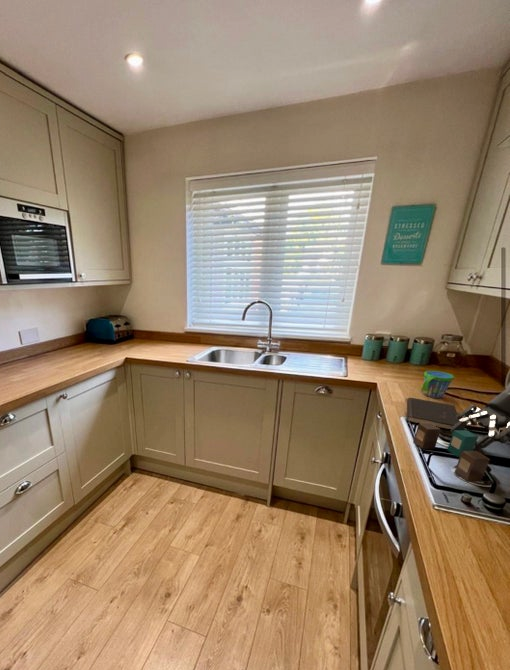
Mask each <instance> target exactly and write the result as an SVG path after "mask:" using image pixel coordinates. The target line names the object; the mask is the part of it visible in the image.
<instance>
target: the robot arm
mask: <svg viewBox="0 0 510 670" xmlns="http://www.w3.org/2000/svg"><path fill="white" fill-rule="evenodd" d="M456 417H457V418H458V420H459V422H458V423H457V424H455V425H454V426H453V427H451V430H449V431H450V432H451V434H452V435H453V432H454V430H465V428H466V427H469V426H479V427H483V428H485V429H486V430H488V435H487V434H486V435H485V436H483V437H482V438H481V439H479V440H477V441H476V444H475V447H476V448H477V449H479V450H482V449H486V448H487V447H488V446H490V445H491V444H492V443H496V442H499V443H500V444H505V443H507V442H508V441H509V440H510V386H508V387H507V388H506V389H504V390H503V391H502V392H500V393H499V394H498V395H497V396H495V397H494V398H492V399H491V400H489V402H488V403H486V406H484V407H483V408H479V407H477V405H476V404H471V405H469V406H468V407H466V408H465V409H463V410H462V411H461V412H459V413H458V415H457V416H456ZM503 428H505V429H503ZM501 429H503V430H502V431H501ZM500 431H501V432H500Z"/></svg>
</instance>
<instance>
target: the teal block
mask: <svg viewBox="0 0 510 670" xmlns="http://www.w3.org/2000/svg"><path fill="white" fill-rule="evenodd" d="M478 438H479V436H478V435H476V434H474V432H471V431H469V430H467V429H463V430H454V432H453V434H452V435H451V438H450V441H449V444H448V446H447V450H446V451H448V452H449V453H450V454H451V455H454V456H456V457H457V458H460V455H461V453H462V451H474V449H475V447H476V445H475V444H476V443H477V442H478Z"/></svg>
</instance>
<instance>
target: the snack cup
mask: <svg viewBox="0 0 510 670" xmlns="http://www.w3.org/2000/svg"><path fill="white" fill-rule="evenodd" d="M423 376H424V378H423V384H422V385H421V390H422V394H423V395H424V396H425V397H429V398H433V399H442V398H444V396H445V394H446V393H447V390H448V388H449V386H450V385H451V383H452V381H453V380H454V379H455V376H454V375H453V374H451V373H448V372H444V371H439V370H426V371H425V372H424V373H423Z"/></svg>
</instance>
